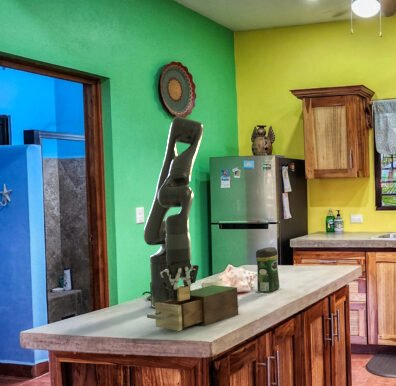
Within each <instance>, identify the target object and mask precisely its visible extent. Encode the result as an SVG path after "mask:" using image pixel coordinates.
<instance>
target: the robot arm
mask: <svg viewBox="0 0 396 386" xmlns="http://www.w3.org/2000/svg"><path fill="white" fill-rule="evenodd" d="M203 135H204V124H203V123H202V122H201V121H198V120H194V119H190V118H187V117H184V116H175V117H173V119H172V120H171V124H170V128H169V133H168V138H167V144H166V149H165V154H164V157H163V162H162V166H161V169H160V173H159V176H158V180H157V184H156V189H155V195H154V198H153V202H152V204H151V208H150V211H149V214H148V216H147V219H146V222H145V225H144V228H143V240H144V242H145V244H146V245H148V246H160V248H159V249H158V250H157V251H156V252H154V253H152V254H151V255H150V256H149V265H150V266H149V267H150V282H149V289H150V291H144V292H142V296H144V295H146V294H149V296H147V297H146V299H147V300H148V301H150V306H151V308H153V309H155V303H157V302H160V303H163V302H165V301H169V300H172V301H177V300H178V297H177V287H178V285H179V282H180V280H181V281H182V284H183V285H182V286H188V287H190V288H191V287H192V284H196V281H197V277H198V273H199V265H198V264H192V262H191V260H192V244H191V243H192V242H191V236H190V235H191V234H190V214H191V208H192V205H193V201H194V191H193V189H192V188H191V187H190V186H189V185H190V183H191V180H192V179H191V178H192V173H193V167H194V163H195V160H196V158H197V155H198V153H199V149H200V147H201V143H202V139H203ZM177 143H180V144H184V145H188V147H187V148H186V149H185V150H184V151H181V152H180V153H179V152H178V147H177ZM172 208H180V210H179V212H177V213H174V214H170V215H167V214H168V212H169V211H170V210H171V209H172ZM166 215H167V216H166ZM190 294H191V293H190Z"/></svg>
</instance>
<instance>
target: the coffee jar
mask: <svg viewBox="0 0 396 386" xmlns="http://www.w3.org/2000/svg"><path fill="white" fill-rule="evenodd" d="M278 256H279V254H278V249H277V248H276V247H275V246H274V247H273V246H268V247H263V248H260V249H257V250H256V251H255V261H256V268H257V271H256V272H257V286H256V287H257V291H258V292H260V293H264V294H265V293H271V292H274V291H277V290H278V289H280V287H281V286H280V278H279V268H278V259H279V257H278Z"/></svg>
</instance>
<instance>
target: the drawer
mask: <svg viewBox="0 0 396 386" xmlns="http://www.w3.org/2000/svg"><path fill="white" fill-rule="evenodd" d="M146 318H147V319H151V320H155V327H156V328H161V329H166V330H172V331H178V332H180V331H183V328H188V327H191V326H193V325H198V324H197V323H200V322H203V306H202V299H199V298H191V297H190V299H187V300H183V301H172V300H169V301H165V302H163V303H160V302H157V303H155V308H154V313H147V314H146Z"/></svg>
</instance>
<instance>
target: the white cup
mask: <svg viewBox="0 0 396 386" xmlns="http://www.w3.org/2000/svg"><path fill="white" fill-rule="evenodd" d="M211 285H216V286H224V279H223V278H219V277H218V278H216V277H215V278H207V279H203V280H201V281H200V286H201V287H200V288H203V287H207V286H211Z"/></svg>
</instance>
